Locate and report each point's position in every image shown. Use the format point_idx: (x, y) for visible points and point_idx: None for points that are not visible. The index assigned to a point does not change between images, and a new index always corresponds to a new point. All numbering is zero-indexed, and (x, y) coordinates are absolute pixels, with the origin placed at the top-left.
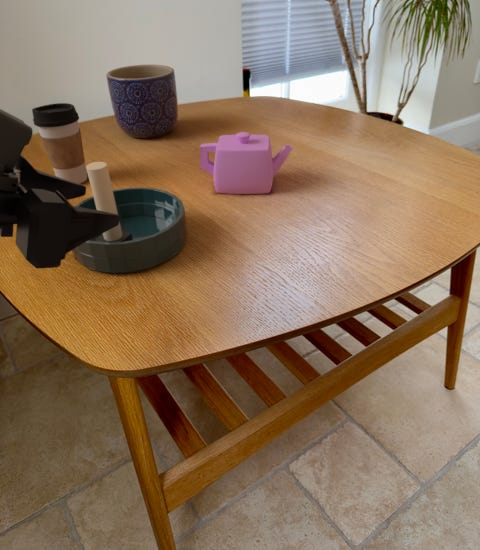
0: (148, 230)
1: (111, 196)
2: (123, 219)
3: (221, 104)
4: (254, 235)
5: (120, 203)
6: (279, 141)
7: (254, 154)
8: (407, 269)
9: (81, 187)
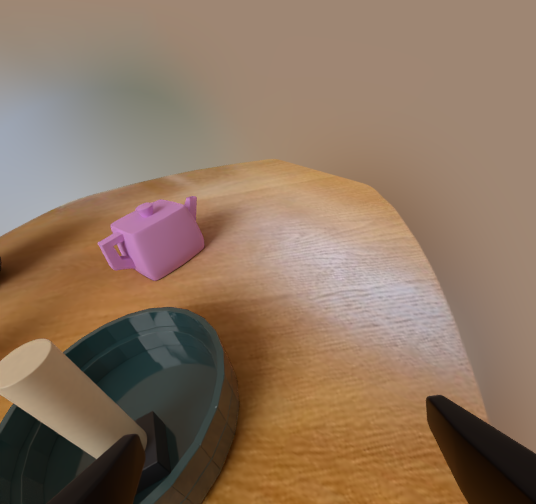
0: (147, 382)
1: (97, 389)
2: None
3: (31, 225)
4: (260, 282)
5: None
6: None
7: (176, 216)
8: (384, 218)
9: (128, 451)
